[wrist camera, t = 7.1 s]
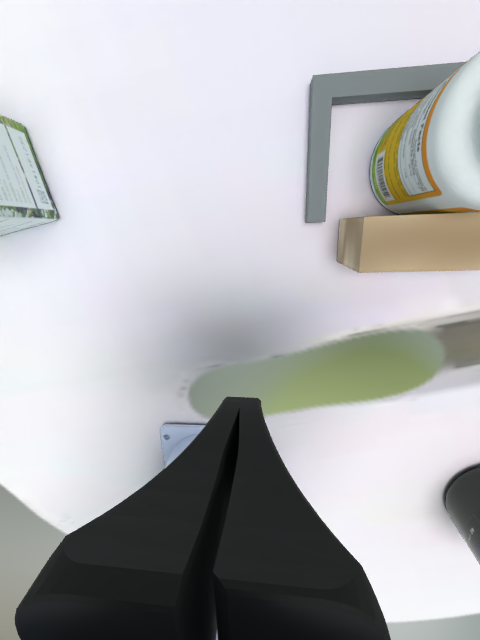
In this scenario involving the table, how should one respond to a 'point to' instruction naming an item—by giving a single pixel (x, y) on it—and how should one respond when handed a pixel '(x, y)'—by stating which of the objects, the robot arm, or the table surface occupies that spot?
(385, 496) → the table surface
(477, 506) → the supplement bottle
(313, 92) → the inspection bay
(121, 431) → the table surface
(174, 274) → the table surface
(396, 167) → the supplement bottle
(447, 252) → the bar
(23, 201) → the syrup box
